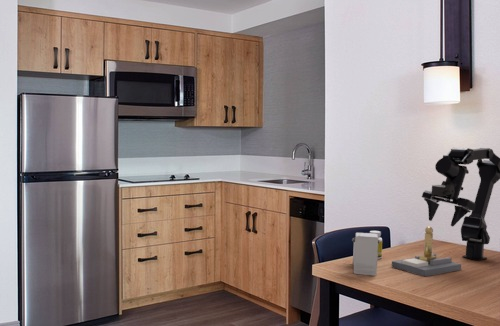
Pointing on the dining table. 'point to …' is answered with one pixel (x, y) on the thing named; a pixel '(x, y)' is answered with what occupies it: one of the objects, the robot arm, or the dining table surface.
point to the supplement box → (365, 254)
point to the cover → (415, 262)
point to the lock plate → (429, 266)
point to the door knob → (428, 246)
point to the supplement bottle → (379, 243)
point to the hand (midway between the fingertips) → (440, 223)
